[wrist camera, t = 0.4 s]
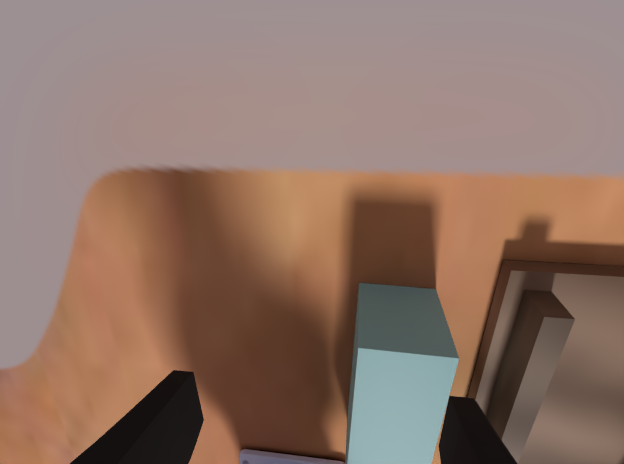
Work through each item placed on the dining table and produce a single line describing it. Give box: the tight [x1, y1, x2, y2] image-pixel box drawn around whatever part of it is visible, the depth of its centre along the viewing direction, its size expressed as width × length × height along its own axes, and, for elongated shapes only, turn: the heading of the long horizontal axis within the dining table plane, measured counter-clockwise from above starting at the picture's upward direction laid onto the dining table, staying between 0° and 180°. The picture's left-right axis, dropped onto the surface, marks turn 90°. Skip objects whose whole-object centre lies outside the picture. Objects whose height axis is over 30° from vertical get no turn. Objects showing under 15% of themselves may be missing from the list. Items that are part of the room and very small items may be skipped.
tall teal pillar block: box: [345, 283, 459, 464], centre depth 19 cm, size 12×4×5 cm, turn 179°
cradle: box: [467, 260, 624, 464], centre depth 18 cm, size 16×11×3 cm
